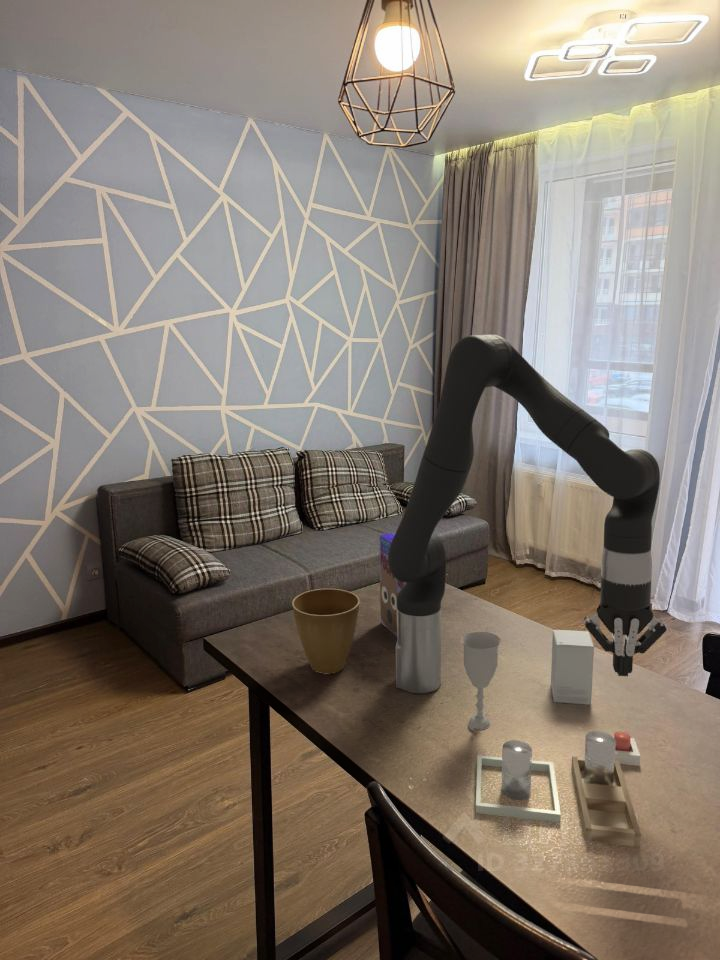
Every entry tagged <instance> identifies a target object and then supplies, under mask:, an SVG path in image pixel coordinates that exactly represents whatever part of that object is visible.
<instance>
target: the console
mask: <svg viewBox="0 0 720 960" xmlns="http://www.w3.org/2000/svg"><path fill="white" fill-rule="evenodd" d="M612 736H613V737H614V735H612ZM615 760H616V761H619V763H620V765H628V766H639V767H640V766H641V753H640V750H639V747H638V744H637V743H636V739H635V737H631V739H630V751H629V752H627V751H616V750H615Z"/></svg>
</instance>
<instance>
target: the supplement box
mask: <svg viewBox="0 0 720 960" xmlns="http://www.w3.org/2000/svg"><path fill="white" fill-rule="evenodd" d="M551 639H552V640H551V641H552V644H551V645H552V646H551V669H550V670H551V672H550V688H551V693H552V694H551V695H552V699H553V702H554V703H561V704H562V703H564V704H574V705H575V704H576V705H590V706H591V705H592V693H593V691H592V690H593V671H594V653H595V646H594V642H593V639H592V635H591V633H590V632H589V631H586V630H572V629H571V630H569V629H553V630H552V638H551Z"/></svg>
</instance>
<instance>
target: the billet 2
mask: <svg viewBox="0 0 720 960" xmlns="http://www.w3.org/2000/svg"><path fill="white" fill-rule="evenodd" d="M613 736H614V735H611V734H609V732H608V733H607V732H605V731H599V730H592V731H588V732H587V733H586V735H585V743H584V758H585V760H584V780H583V782H584V783H589V784H599V785H609V786H613V781H614V764H615V747H616V740H615V739H614V737H613Z"/></svg>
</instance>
